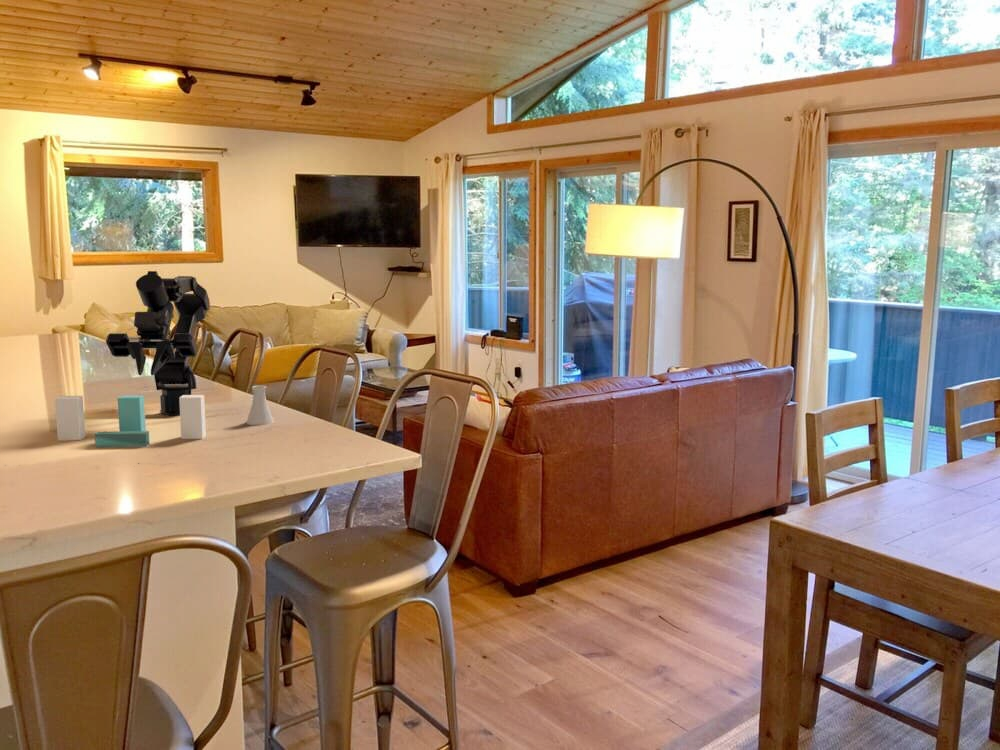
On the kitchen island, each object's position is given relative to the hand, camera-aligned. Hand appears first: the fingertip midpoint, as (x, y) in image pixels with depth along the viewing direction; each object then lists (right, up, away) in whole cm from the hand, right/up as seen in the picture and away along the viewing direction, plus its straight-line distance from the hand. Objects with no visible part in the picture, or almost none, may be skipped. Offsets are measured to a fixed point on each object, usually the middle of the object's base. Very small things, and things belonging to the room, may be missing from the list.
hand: (145, 374), depth 183 cm
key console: (+1, -16, -11) cm, 19 cm away
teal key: (+1, -14, -9) cm, 16 cm away
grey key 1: (-11, -14, -10) cm, 20 cm away
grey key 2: (+13, -14, -7) cm, 20 cm away
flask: (+23, -13, +9) cm, 28 cm away
